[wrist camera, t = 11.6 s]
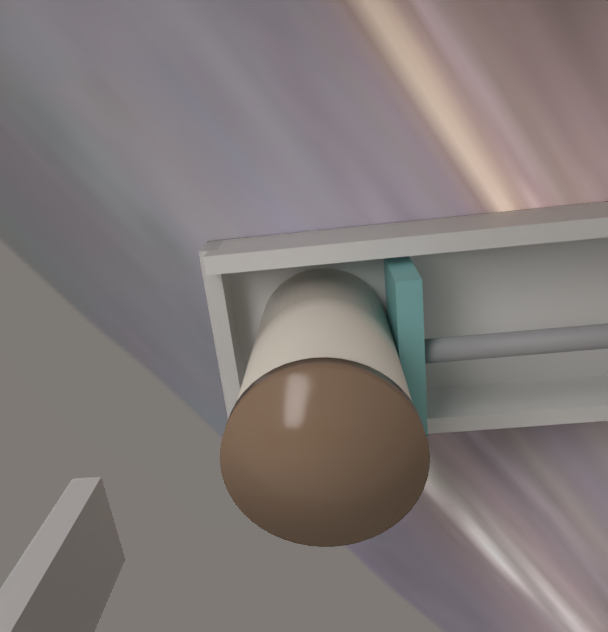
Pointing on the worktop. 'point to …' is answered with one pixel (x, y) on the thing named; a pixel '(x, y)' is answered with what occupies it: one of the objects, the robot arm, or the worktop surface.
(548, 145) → the worktop surface
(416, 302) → the pusher
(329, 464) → the jar
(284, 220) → the worktop surface
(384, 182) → the worktop surface
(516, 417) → the lane
